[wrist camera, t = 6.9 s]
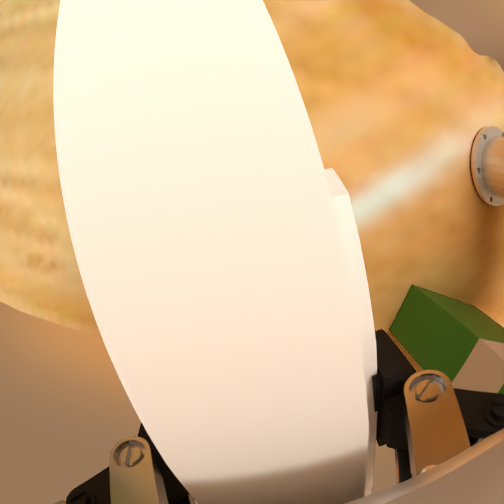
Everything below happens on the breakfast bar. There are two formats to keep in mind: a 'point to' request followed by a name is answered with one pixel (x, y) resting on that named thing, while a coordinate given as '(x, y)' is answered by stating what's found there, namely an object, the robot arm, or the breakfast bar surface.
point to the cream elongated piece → (216, 249)
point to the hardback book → (452, 340)
